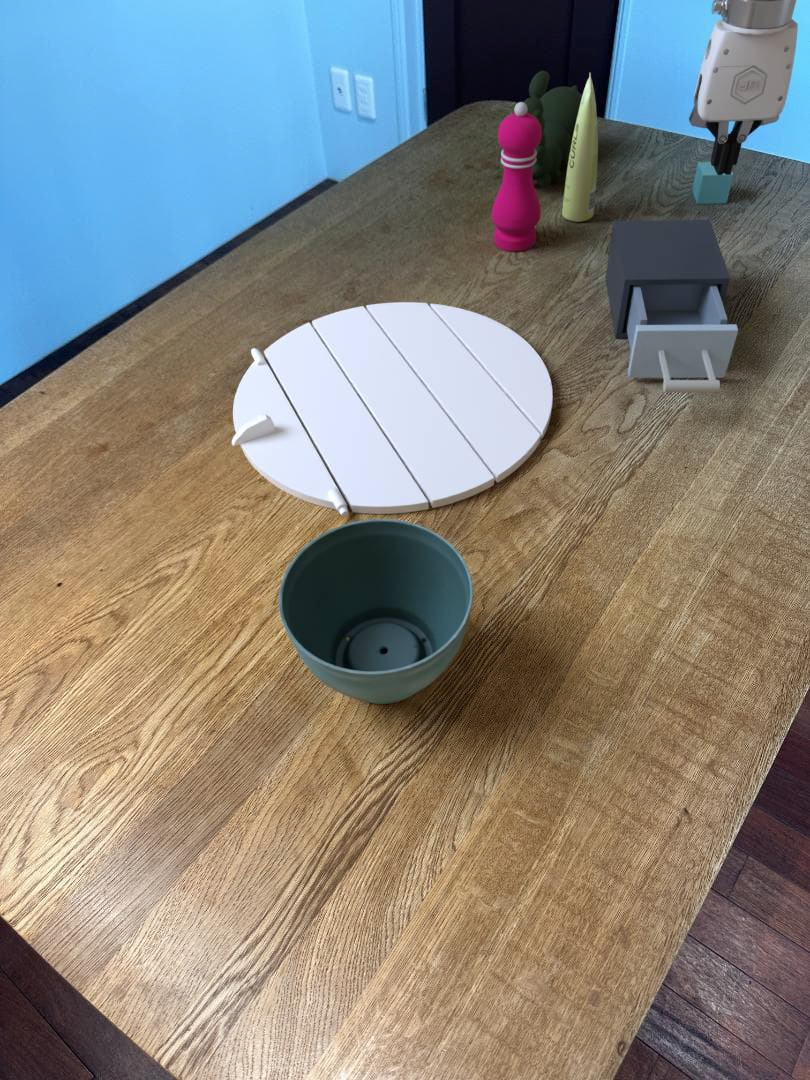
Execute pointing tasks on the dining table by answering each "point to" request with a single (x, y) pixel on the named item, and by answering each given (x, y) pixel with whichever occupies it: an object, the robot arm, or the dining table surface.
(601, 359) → the dining table surface
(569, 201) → the tube
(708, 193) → the teal cube
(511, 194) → the pepper mill
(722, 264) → the dark grey cabinet
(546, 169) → the toy figurine
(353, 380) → the lazy susan
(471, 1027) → the dining table surface
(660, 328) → the drawer
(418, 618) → the flower pot
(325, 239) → the dining table surface
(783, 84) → the robot arm
